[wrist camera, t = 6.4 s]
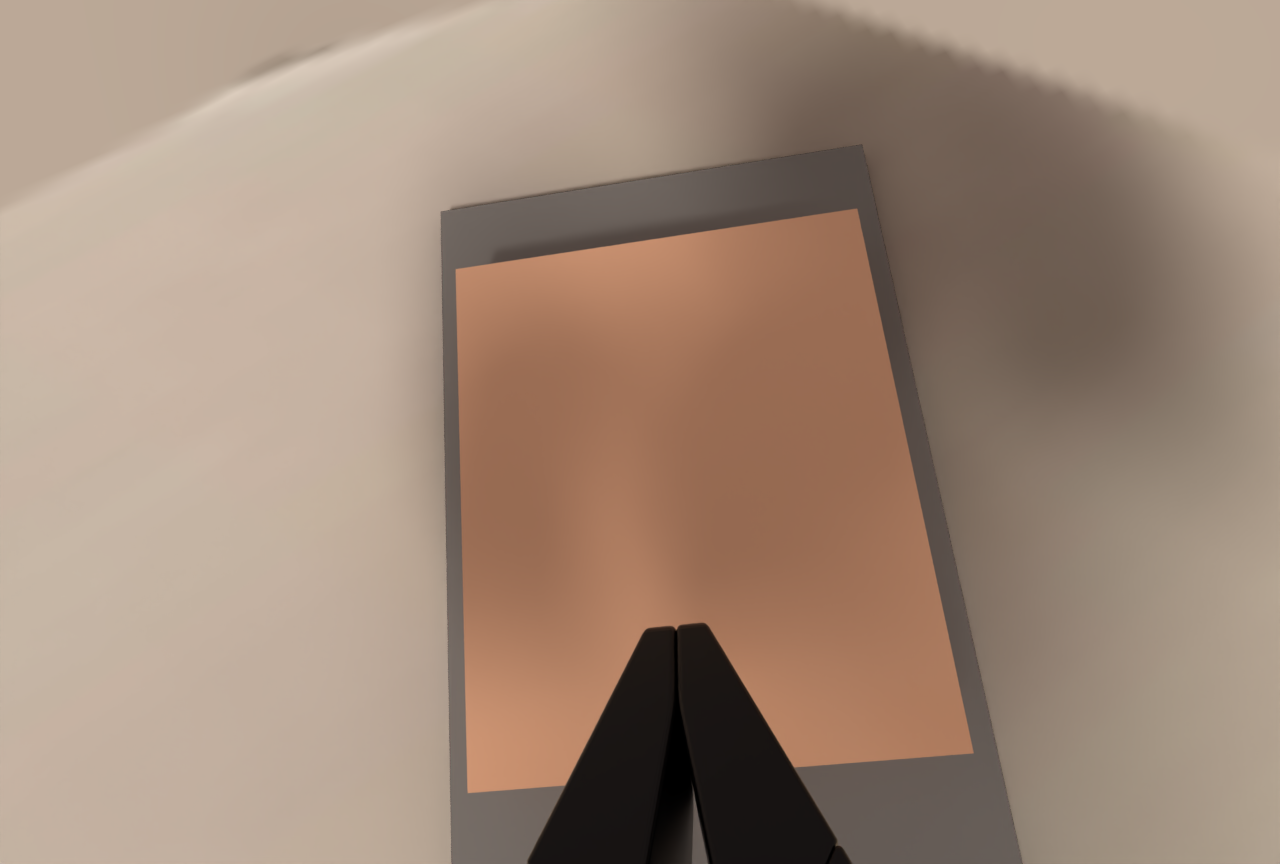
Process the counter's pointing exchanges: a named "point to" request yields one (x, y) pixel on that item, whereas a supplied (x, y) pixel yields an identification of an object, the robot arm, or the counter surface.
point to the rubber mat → (836, 181)
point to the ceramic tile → (693, 496)
